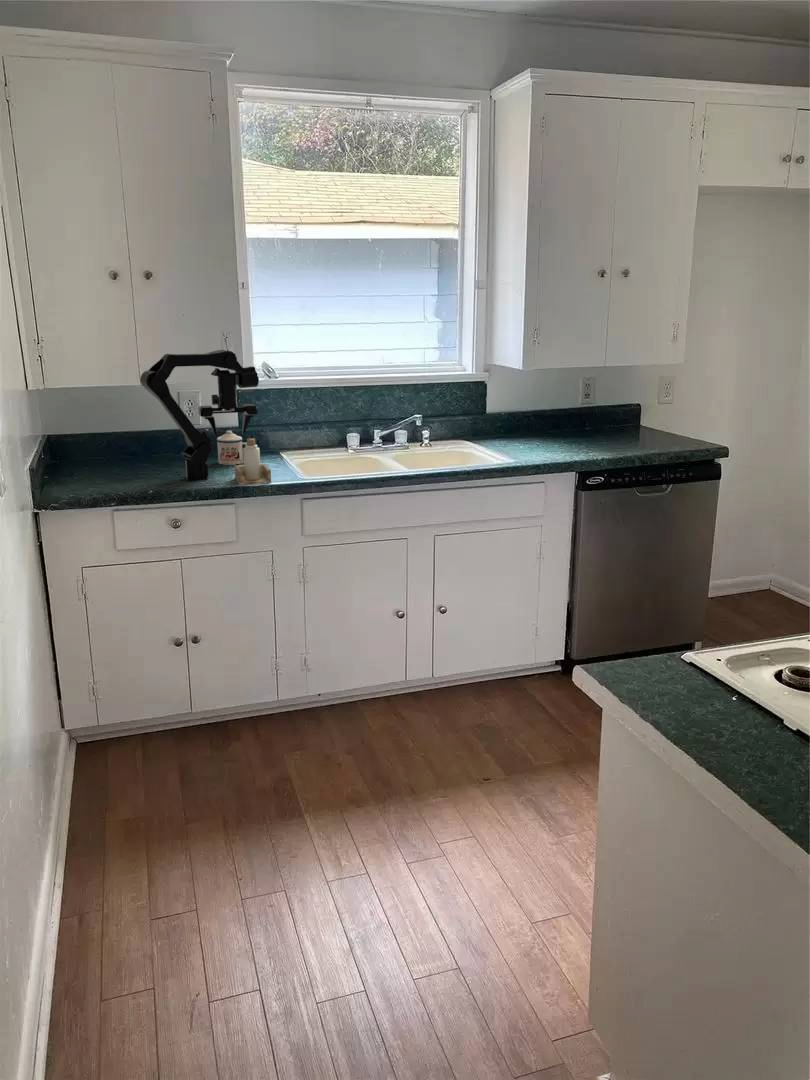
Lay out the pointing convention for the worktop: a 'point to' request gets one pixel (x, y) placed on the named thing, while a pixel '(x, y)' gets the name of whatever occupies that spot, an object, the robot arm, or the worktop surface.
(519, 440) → the worktop surface
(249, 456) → the stoneware bottle
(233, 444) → the teacup with lid
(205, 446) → the robot arm
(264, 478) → the maple U-rest
